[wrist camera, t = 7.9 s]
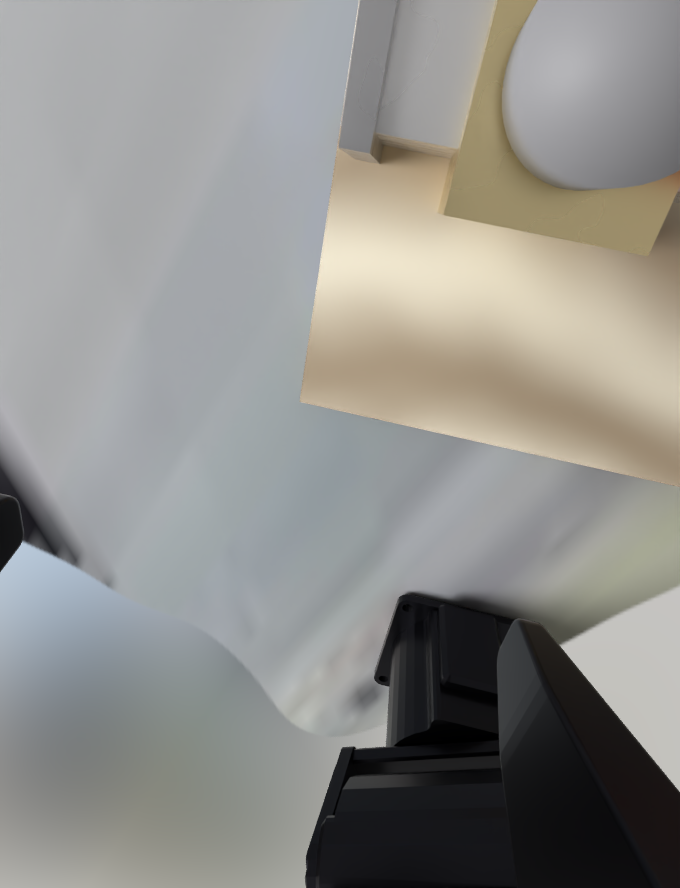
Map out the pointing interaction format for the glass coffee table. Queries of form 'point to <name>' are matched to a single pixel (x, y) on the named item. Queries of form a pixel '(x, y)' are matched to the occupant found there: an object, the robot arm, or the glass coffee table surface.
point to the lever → (596, 93)
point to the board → (494, 326)
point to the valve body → (475, 122)
